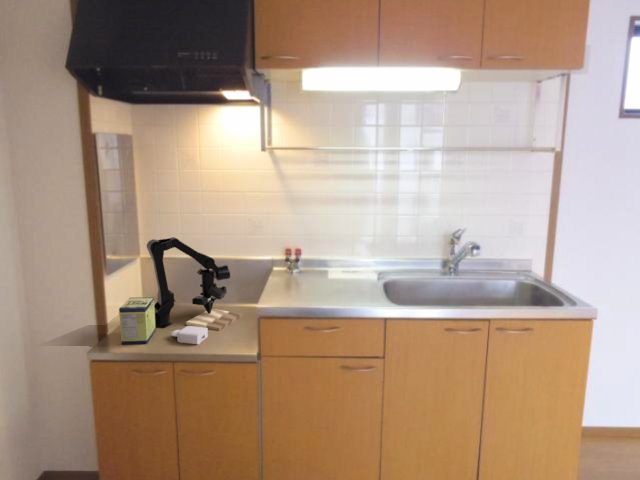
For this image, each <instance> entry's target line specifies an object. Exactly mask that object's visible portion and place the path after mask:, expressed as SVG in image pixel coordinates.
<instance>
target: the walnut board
mask: <svg viewBox="0 0 640 480" xmlns="http://www.w3.org/2000/svg"><path fill="white" fill-rule="evenodd" d="M228 312H229V313H227V314H226V315H224V316H222V317H220V318H219V319H217V320H215V321H214V322H212V323H210V324H208V325H207V326H206V328H208V330H213V331H219V332H220V331H222V330H223V329H225V328H226V327H227V326H230V325H231V324H233V323H234V322H235V321H237V320H239V319H240V318H242V317H243V313H239V312H232V311H228Z"/></svg>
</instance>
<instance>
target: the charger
mask: <svg viewBox="0 0 640 480" xmlns="http://www.w3.org/2000/svg"><path fill="white" fill-rule="evenodd" d="M169 334H170V335H171V336H172V338H173V337H175V338H177V342H178V343H180V344H181V343H182V344H189V345H200V344H201V343H202V342H203V341H205V339H207V338H208V337H209V329H208V328H204V327H195V326H189V325H186V326H185V327H183V328H181V329H175V330H172V331H171V332H169Z"/></svg>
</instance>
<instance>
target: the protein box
mask: <svg viewBox="0 0 640 480" xmlns="http://www.w3.org/2000/svg"><path fill="white" fill-rule="evenodd" d="M154 305H155V298H154V296H152V297H151V296H150V297H149V296H147V297H146V296H145V297H129V298H128V299H127V300H126V301H125V302H124V303H123V304H122V305H121V306H119V308H118V311H119V312H118V313H119V326H120V327H119V329H120V342H121V345H147V344H148V343H149V341H150V340H151V338H152V337H153V335H154V334H155V332H156V327H155V312H156V311H155V309H154Z"/></svg>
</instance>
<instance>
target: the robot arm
mask: <svg viewBox="0 0 640 480" xmlns="http://www.w3.org/2000/svg"><path fill="white" fill-rule="evenodd" d="M173 248H175V249H177V250H179V251H180V252H182V253H184V254H185V255H187V256H189V257H190V258H192V259H193V261H195V262H196V263H197V264H198V265H199V266H201V267H203V268H204V269H202V268H199V269H198V270H197V271H196V274H198V275H201V284H199V287H200V288H201V292H200V293H199V294H200V295H197V296H195V297H193V298H192V299H191V304H192V305H198V306H203V308H204V309H205V310H206V311H207V312H208V313H211V310H212V309H213V306H214V303H215V301H216V300H219V301H221V300H222V299H224V298H225V295H226V294H227V293H228V291H227V287H226V286H225V285H223V286H221V287H219V286H217V283H216V282H215V280H216V281H218V282H219V281H223V280H224V281H226V280H230V278H231V272H230V269H229V266H228V265H226V264H224V265H219V266H218V265H217V264H216V262H215V259H214V258H213V257H211V256H209V255H207V254H205V253H201V252H199V251H197V250H195V249H194V248H192V247H191V246H189V245H187V244H186V243H184V242H182V241H181V240H179V238H176V237H174V236H172V237H169V238H161V239H150V240H149V241H148V242H147V243H146V249H147V251H148V254H149V256H150V258H151V260H152V263H153V269H154V274H155V278H156V284H157V289H158V291H157V301H156V302H155V303H154V309H155V328H160V329H165V328H167V327H169V326H171V325H173V322H171V318H170V317H171V316H170V314H171V310H172V309H173V307H174V306H175V303H176V300H175V294H174V292H173V291H172V290H170V289H169V286H168V281H167V276H166V275H167V274H166V271H165V265H164V254H165V251H168V250H170V249H173ZM206 311H205V312H206Z"/></svg>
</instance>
